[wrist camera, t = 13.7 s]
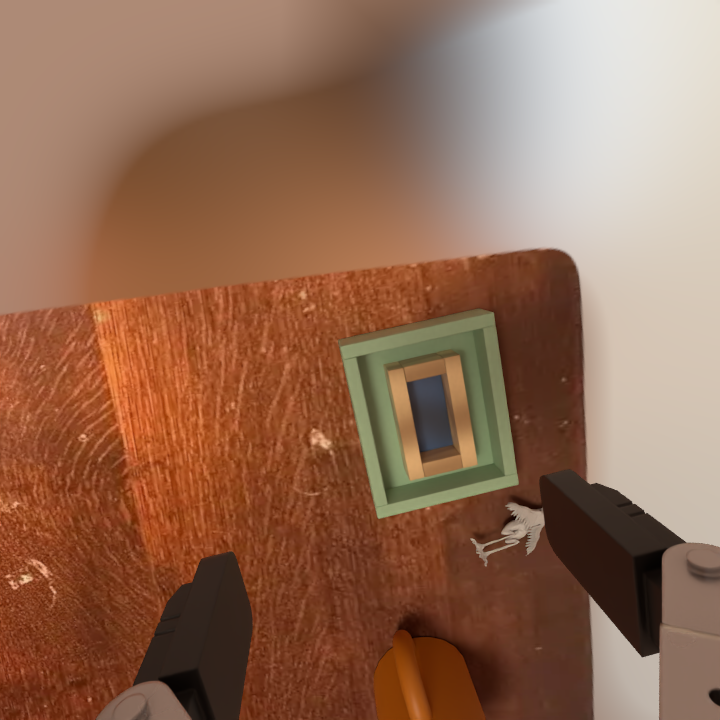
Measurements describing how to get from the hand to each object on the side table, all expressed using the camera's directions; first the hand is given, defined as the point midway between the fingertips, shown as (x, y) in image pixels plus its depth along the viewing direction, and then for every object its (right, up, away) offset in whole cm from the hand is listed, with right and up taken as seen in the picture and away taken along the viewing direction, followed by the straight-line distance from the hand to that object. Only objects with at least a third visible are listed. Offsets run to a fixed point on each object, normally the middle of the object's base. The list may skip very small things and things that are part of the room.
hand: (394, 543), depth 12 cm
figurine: (+12, -12, +31) cm, 35 cm away
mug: (+4, -23, +32) cm, 40 cm away
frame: (+4, +1, +26) cm, 27 cm away
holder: (+4, +1, +27) cm, 27 cm away
